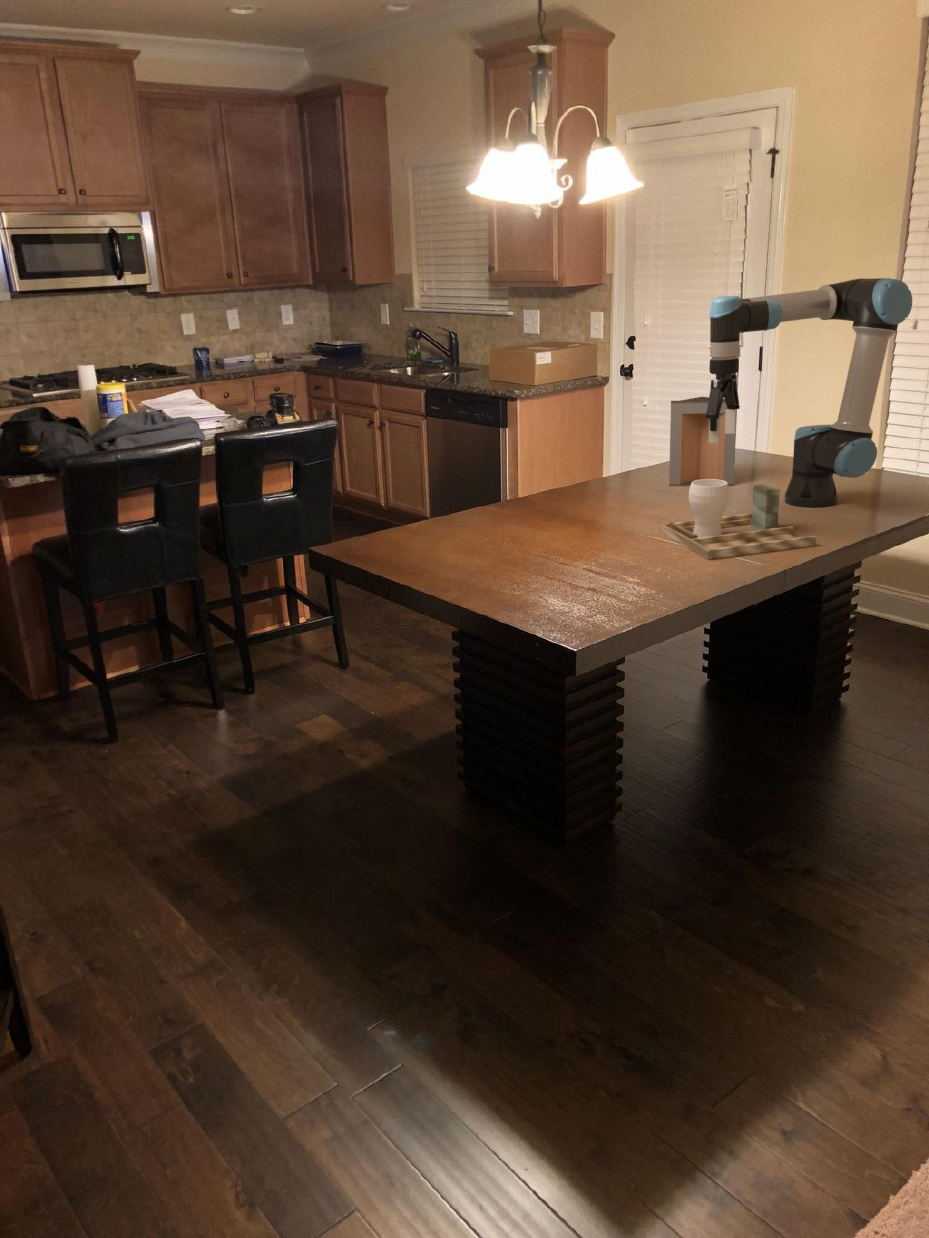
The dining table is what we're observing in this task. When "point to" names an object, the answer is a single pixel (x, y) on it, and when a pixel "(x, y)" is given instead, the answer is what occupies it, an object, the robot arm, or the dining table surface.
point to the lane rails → (738, 540)
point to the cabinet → (698, 445)
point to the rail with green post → (762, 512)
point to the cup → (708, 505)
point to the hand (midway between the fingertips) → (722, 438)
